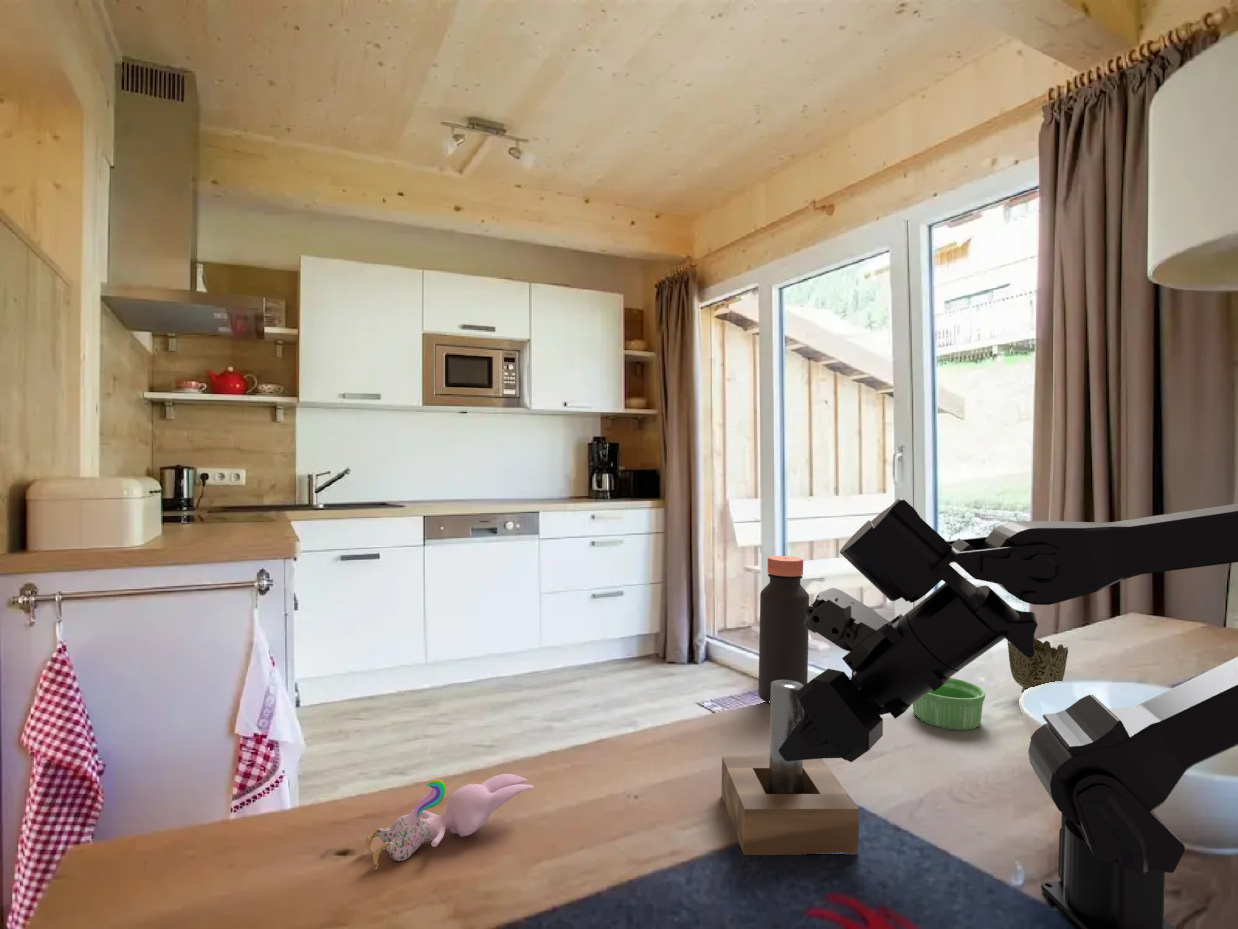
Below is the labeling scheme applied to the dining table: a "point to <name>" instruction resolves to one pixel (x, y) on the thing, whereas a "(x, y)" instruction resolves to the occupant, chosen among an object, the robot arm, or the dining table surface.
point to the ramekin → (952, 705)
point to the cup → (1038, 664)
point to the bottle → (783, 625)
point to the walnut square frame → (788, 810)
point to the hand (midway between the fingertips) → (803, 738)
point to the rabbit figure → (446, 815)
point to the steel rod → (784, 737)
